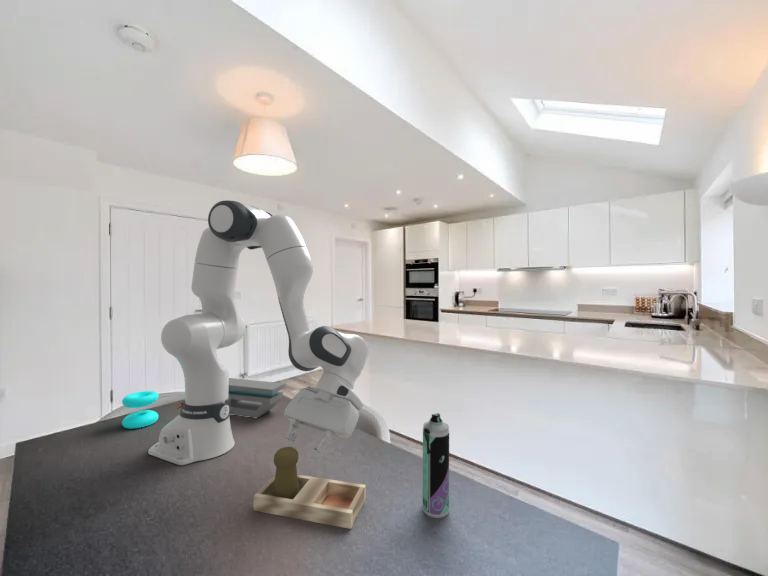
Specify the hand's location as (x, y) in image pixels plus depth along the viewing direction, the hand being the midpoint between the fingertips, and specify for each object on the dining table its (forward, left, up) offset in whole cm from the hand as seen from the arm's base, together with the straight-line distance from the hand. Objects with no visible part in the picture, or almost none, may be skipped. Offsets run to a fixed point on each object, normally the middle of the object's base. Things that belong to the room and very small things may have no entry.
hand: (302, 445), depth 76 cm
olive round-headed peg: (-2, -4, -10) cm, 11 cm away
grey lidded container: (-41, +37, -10) cm, 57 cm away
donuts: (-71, +20, -10) cm, 74 cm away
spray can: (+30, +1, -10) cm, 32 cm away
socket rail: (+4, -4, -10) cm, 12 cm away
